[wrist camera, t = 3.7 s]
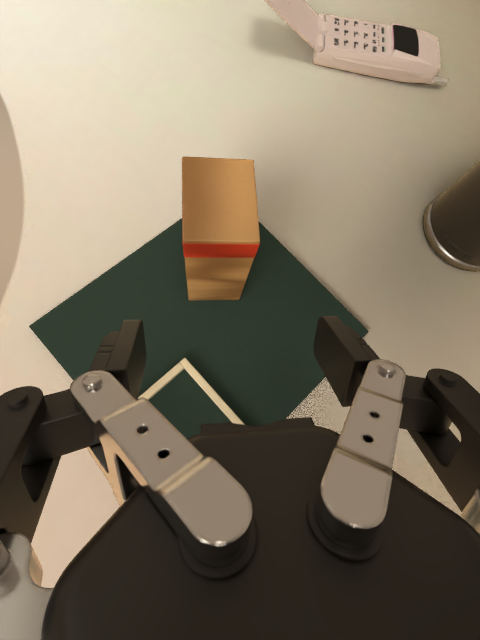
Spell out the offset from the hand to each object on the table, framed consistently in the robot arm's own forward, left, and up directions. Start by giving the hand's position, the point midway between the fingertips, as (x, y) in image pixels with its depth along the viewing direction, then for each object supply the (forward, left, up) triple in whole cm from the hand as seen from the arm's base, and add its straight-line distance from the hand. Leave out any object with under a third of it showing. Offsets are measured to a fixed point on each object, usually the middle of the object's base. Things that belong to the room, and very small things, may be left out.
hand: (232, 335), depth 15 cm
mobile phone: (-39, -18, -14) cm, 45 cm away
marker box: (-6, -7, -13) cm, 16 cm away
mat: (-2, -3, -14) cm, 14 cm away
